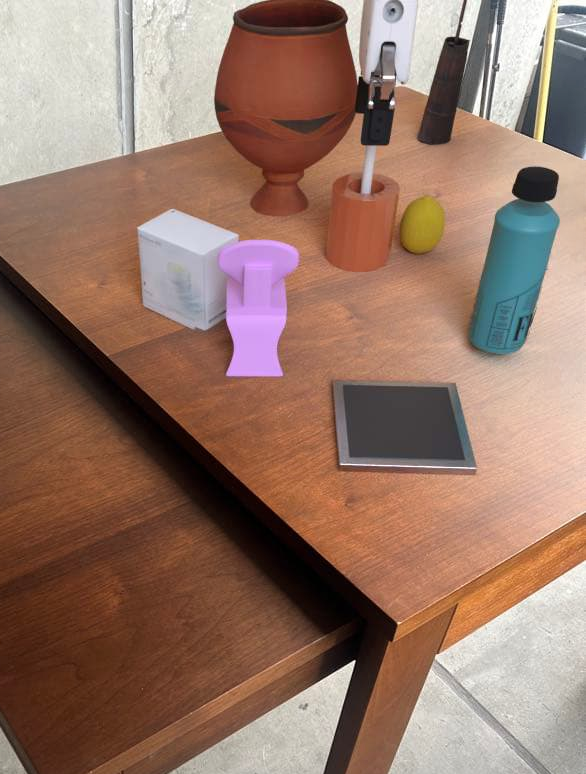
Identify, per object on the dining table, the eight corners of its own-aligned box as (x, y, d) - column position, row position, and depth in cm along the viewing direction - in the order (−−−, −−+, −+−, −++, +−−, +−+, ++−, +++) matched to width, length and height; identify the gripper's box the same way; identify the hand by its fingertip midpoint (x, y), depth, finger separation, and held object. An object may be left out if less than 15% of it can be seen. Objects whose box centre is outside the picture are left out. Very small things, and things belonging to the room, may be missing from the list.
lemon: (392, 262, 112) (402, 202, 107) (398, 243, 116) (408, 184, 110) (435, 268, 111) (447, 207, 105) (440, 248, 115) (452, 189, 109)
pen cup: (384, 248, 115) (396, 172, 108) (390, 277, 110) (402, 200, 103) (324, 247, 116) (331, 172, 109) (326, 277, 110) (334, 200, 103)
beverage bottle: (509, 373, 94) (562, 192, 80) (452, 353, 97) (493, 175, 83) (532, 346, 98) (586, 168, 84) (476, 328, 101) (520, 153, 87)
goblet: (317, 173, 133) (333, -15, 115) (367, 227, 120) (394, 24, 102) (197, 189, 130) (195, -1, 112) (235, 247, 117) (240, 41, 99)
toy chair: (289, 333, 101) (297, 208, 90) (292, 376, 95) (302, 247, 84) (218, 333, 102) (218, 208, 91) (216, 376, 95) (217, 248, 85)
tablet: (454, 389, 93) (456, 381, 92) (475, 475, 83) (477, 467, 82) (331, 386, 93) (332, 379, 93) (338, 471, 84) (339, 463, 83)
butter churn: (440, 157, 136) (479, -55, 116) (391, 141, 141) (421, -65, 121) (474, 141, 140) (517, -66, 120) (425, 126, 145) (460, -75, 125)
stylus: (361, 254, 113) (377, 135, 102) (362, 258, 112) (378, 139, 101) (352, 254, 113) (366, 135, 102) (352, 258, 112) (367, 139, 101)
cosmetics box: (140, 307, 106) (134, 225, 99) (175, 287, 109) (173, 206, 102) (203, 337, 101) (203, 253, 94) (239, 315, 104) (241, 232, 97)
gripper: (443, -23, 83) (411, 158, 95) (421, -64, 95) (396, 102, 107) (364, -24, 83) (342, 157, 95) (352, -64, 95) (335, 101, 107)
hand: (371, 128), depth 101 cm, fingers open, 9 cm apart
